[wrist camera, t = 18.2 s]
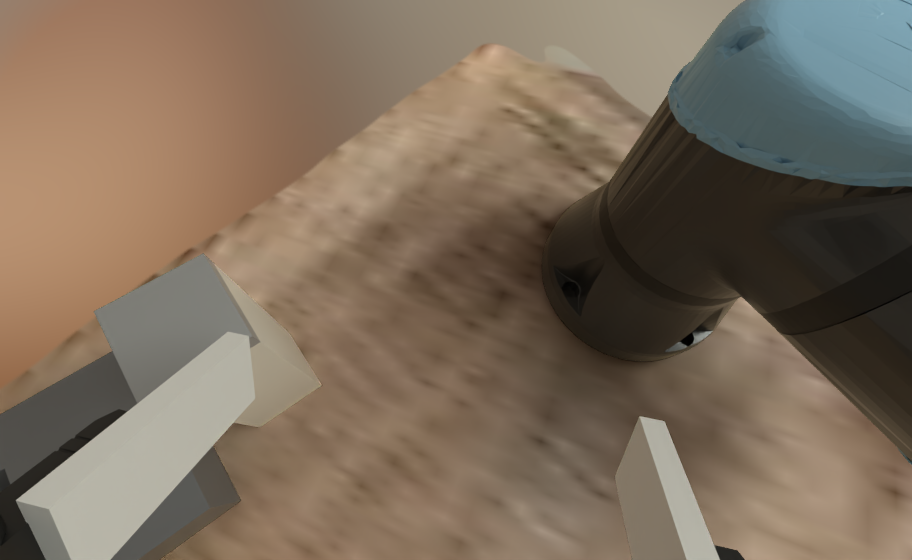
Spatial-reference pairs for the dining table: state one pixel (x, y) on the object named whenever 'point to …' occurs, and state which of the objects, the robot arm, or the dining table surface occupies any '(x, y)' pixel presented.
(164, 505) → the plate with square hole
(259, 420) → the plug
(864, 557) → the dining table surface
